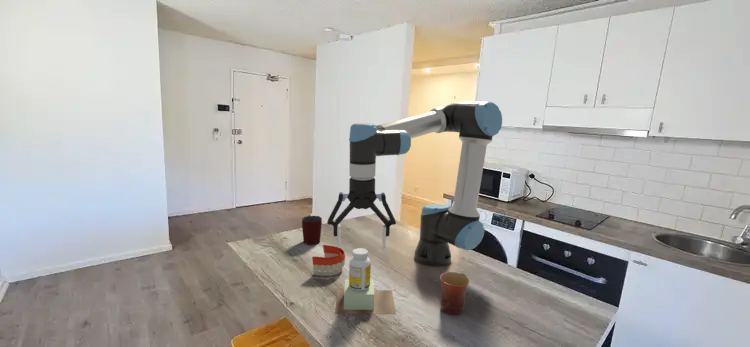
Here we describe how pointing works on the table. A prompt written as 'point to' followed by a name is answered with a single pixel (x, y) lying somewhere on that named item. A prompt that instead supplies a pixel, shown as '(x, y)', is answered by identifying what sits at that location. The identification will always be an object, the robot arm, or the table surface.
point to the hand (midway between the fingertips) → (361, 246)
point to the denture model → (329, 261)
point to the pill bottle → (359, 270)
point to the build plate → (381, 303)
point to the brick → (358, 297)
